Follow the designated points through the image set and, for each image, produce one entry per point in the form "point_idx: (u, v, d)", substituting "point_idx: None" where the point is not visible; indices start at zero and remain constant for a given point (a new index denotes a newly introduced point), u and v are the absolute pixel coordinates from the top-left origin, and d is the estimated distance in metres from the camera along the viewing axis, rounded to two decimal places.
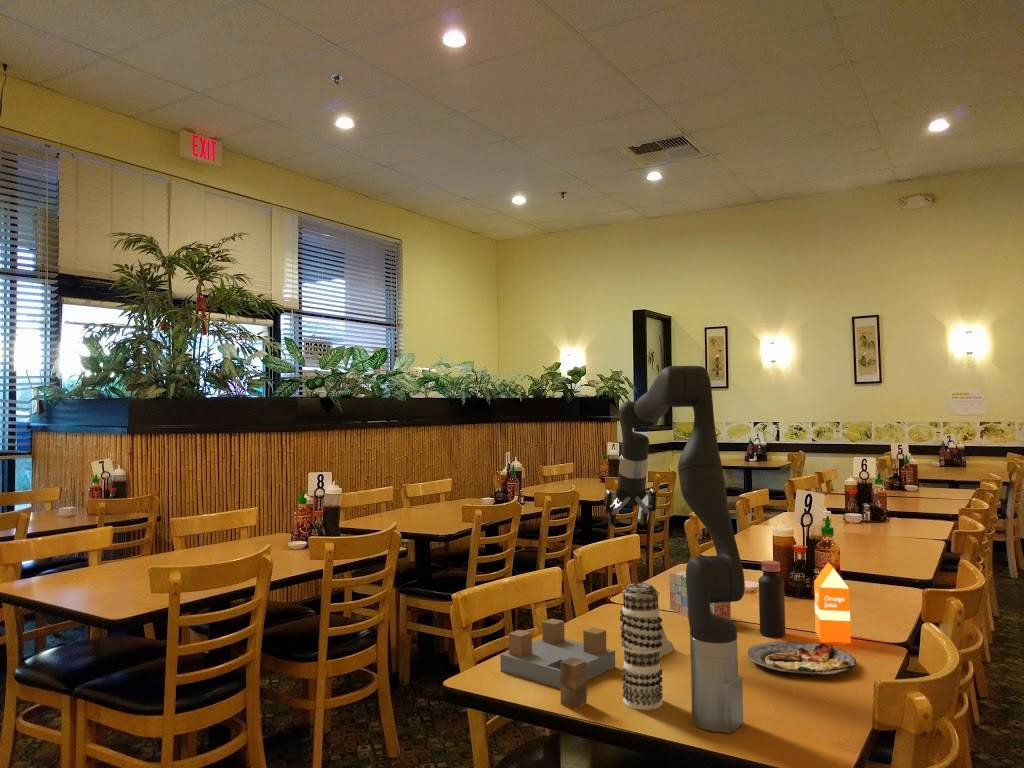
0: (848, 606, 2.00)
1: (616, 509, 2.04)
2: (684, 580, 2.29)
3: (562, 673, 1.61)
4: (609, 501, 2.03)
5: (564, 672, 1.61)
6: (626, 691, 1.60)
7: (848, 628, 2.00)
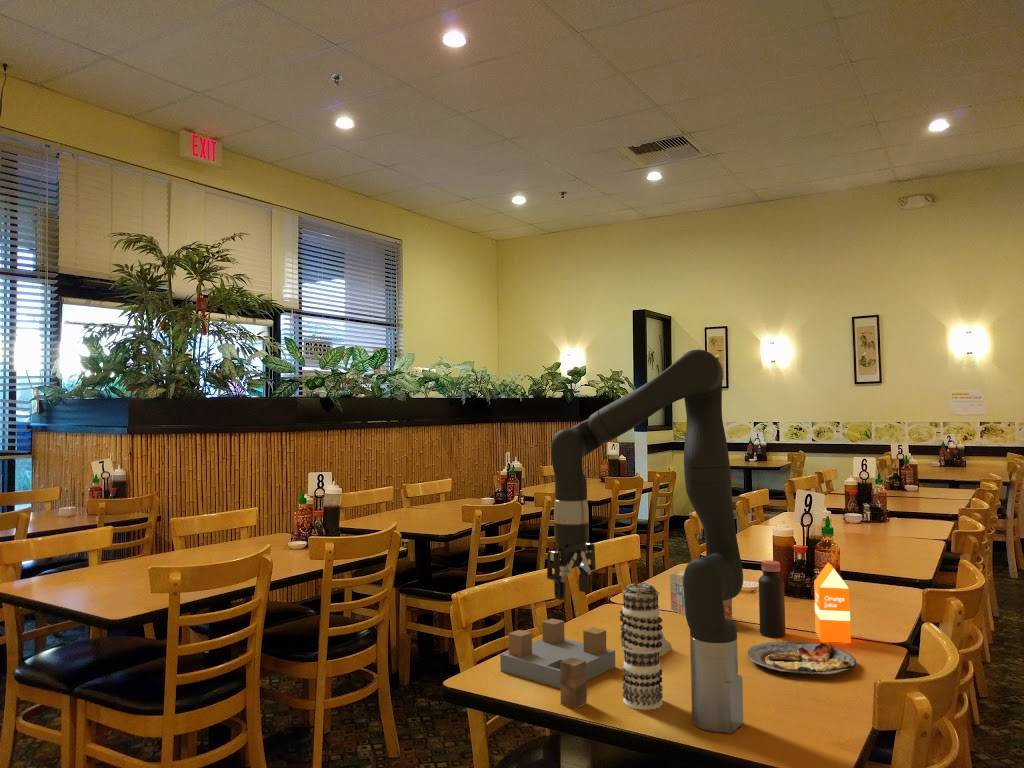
0: (848, 606, 2.00)
1: (565, 574, 1.59)
2: None
3: (562, 673, 1.61)
4: (558, 563, 1.57)
5: (564, 672, 1.61)
6: (626, 691, 1.60)
7: (848, 628, 2.00)
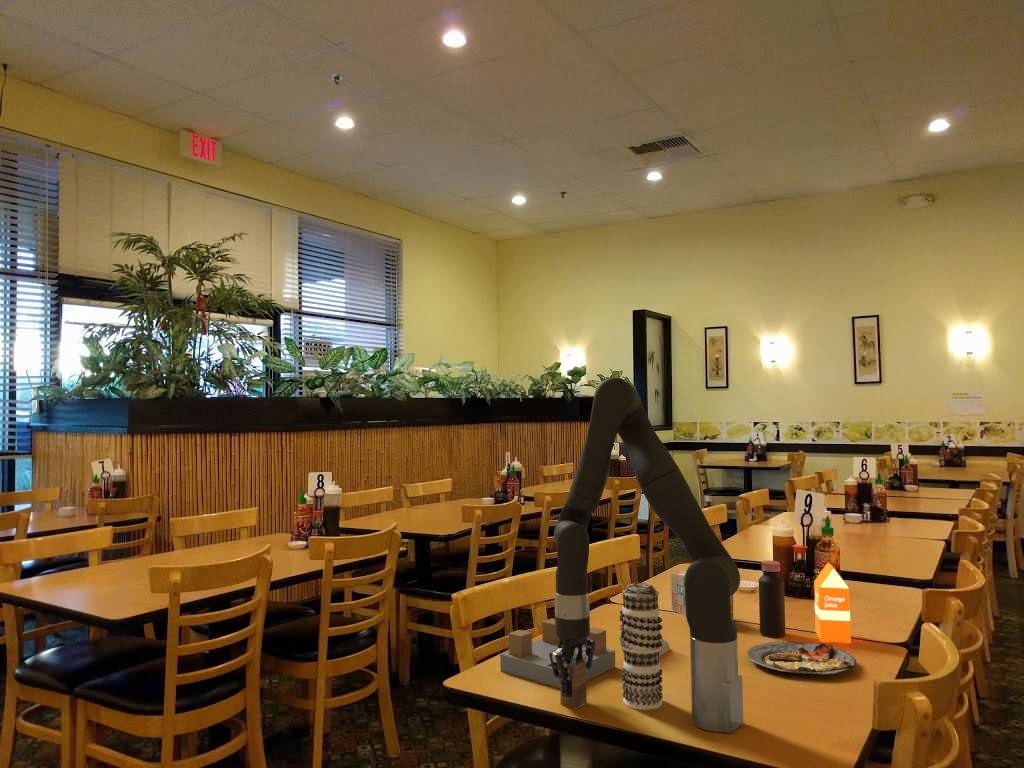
0: (848, 606, 2.00)
1: (570, 671, 1.59)
2: None
3: None
4: (562, 664, 1.57)
5: None
6: (626, 691, 1.60)
7: (848, 628, 2.00)
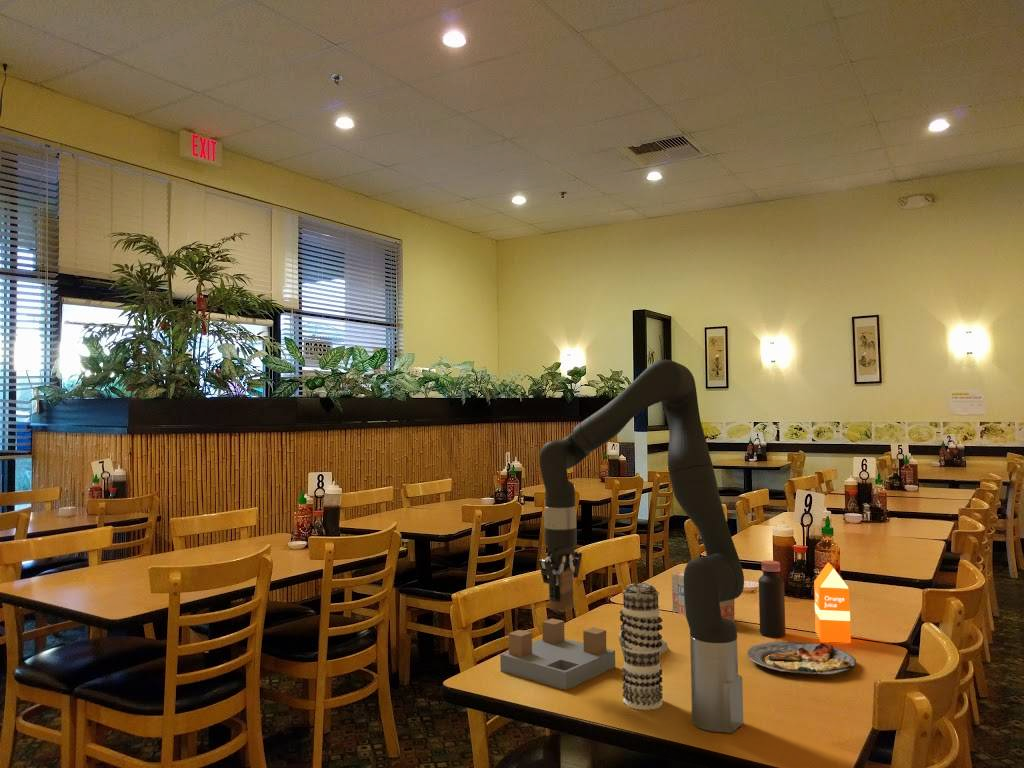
0: (848, 606, 2.00)
1: (558, 577, 1.72)
2: None
3: None
4: (550, 570, 1.70)
5: None
6: (626, 691, 1.60)
7: (848, 628, 2.00)
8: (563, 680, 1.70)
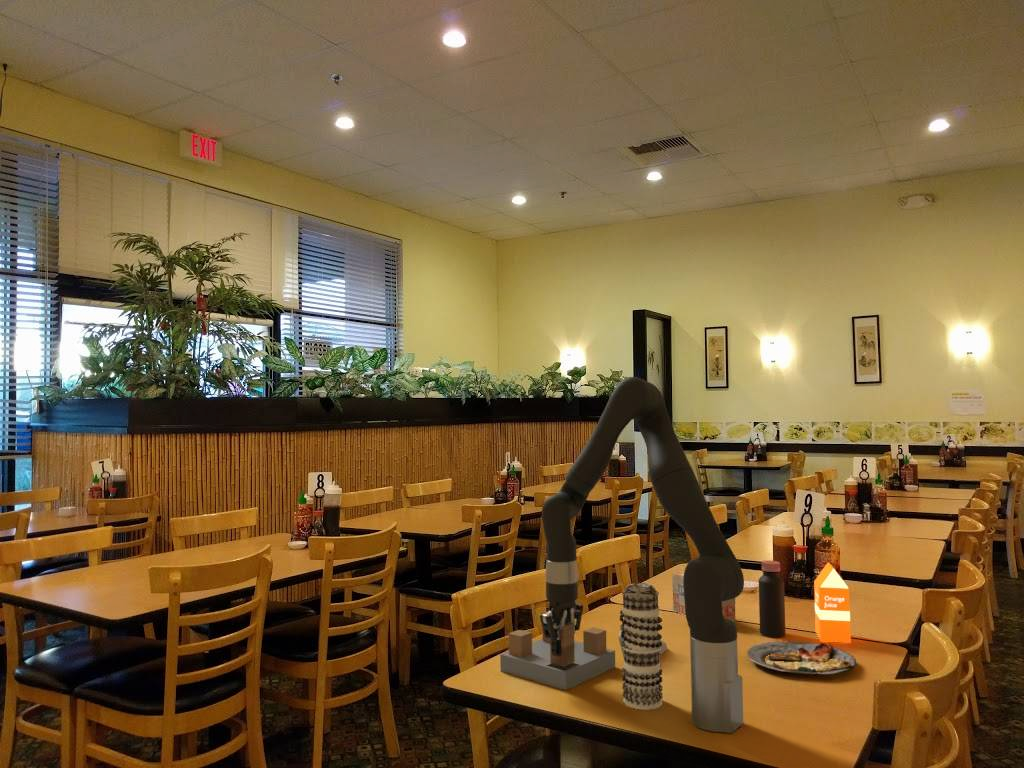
0: (848, 606, 2.00)
1: (559, 632, 1.72)
2: None
3: None
4: (552, 625, 1.70)
5: None
6: (626, 691, 1.60)
7: (848, 628, 2.00)
8: (563, 680, 1.70)
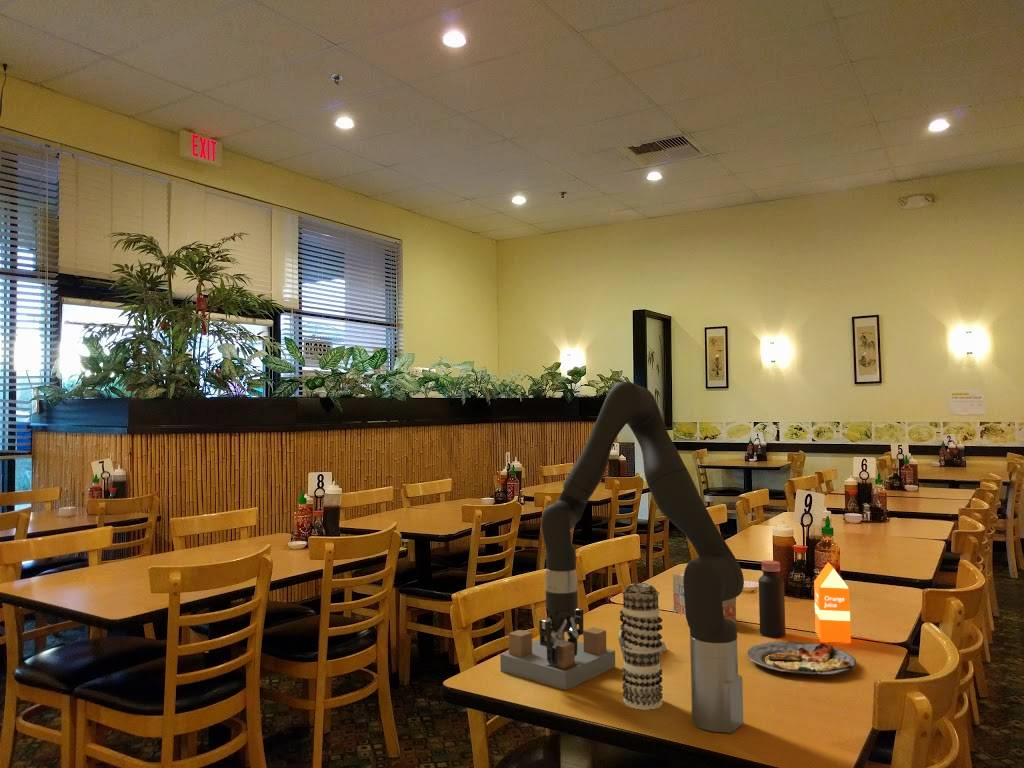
0: (848, 606, 2.00)
1: (556, 640, 1.71)
2: None
3: None
4: (549, 631, 1.69)
5: None
6: (626, 691, 1.60)
7: (848, 628, 2.00)
8: (563, 680, 1.70)
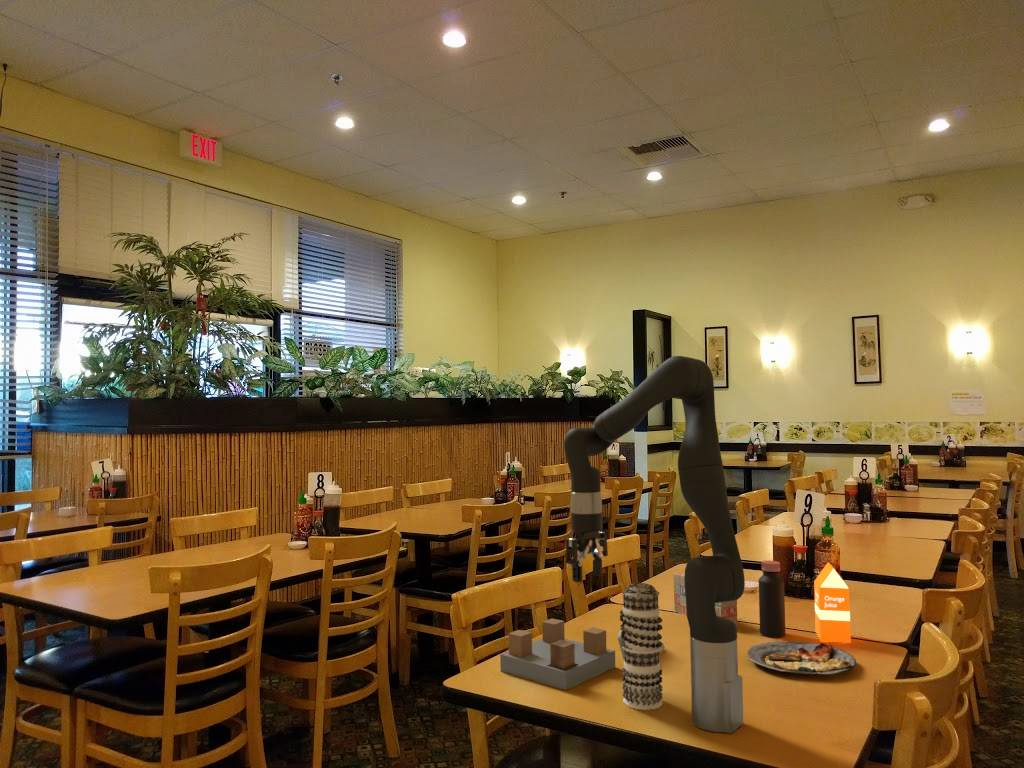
0: (848, 606, 2.00)
1: (581, 558, 1.75)
2: None
3: (552, 654, 1.74)
4: (576, 549, 1.74)
5: (554, 653, 1.73)
6: (626, 691, 1.60)
7: (848, 628, 2.00)
8: (563, 680, 1.70)
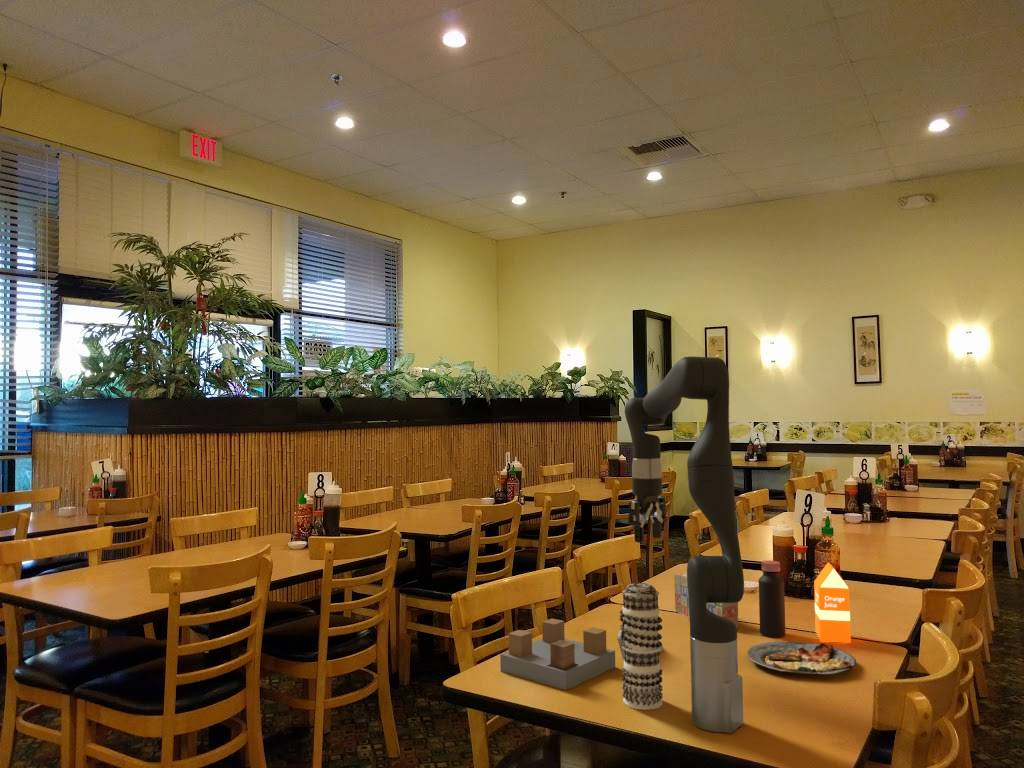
0: (848, 606, 2.00)
1: (643, 520, 1.86)
2: None
3: (552, 654, 1.74)
4: (638, 511, 1.85)
5: (554, 653, 1.73)
6: (626, 691, 1.60)
7: (848, 628, 2.00)
8: (563, 680, 1.70)
